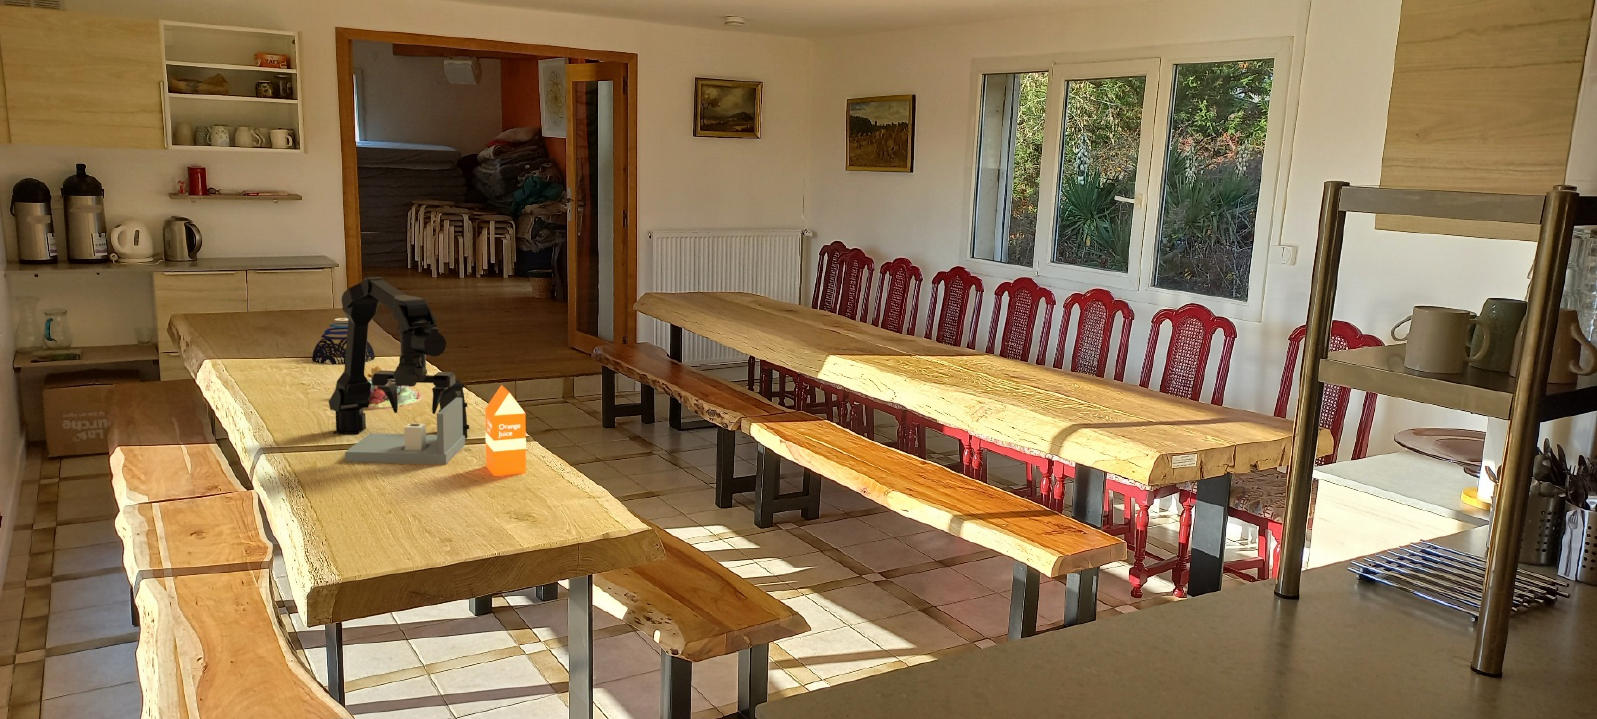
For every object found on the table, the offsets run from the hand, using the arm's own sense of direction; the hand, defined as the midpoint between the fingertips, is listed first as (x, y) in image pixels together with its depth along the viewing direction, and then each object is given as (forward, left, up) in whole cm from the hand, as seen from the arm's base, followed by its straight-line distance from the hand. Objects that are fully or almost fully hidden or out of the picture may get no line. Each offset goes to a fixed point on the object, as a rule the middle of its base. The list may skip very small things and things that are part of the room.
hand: (414, 413), depth 272 cm
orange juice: (+24, -9, -11) cm, 28 cm away
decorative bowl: (-61, +122, -12) cm, 137 cm away
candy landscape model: (-28, +62, -12) cm, 69 cm away
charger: (0, 0, -11) cm, 11 cm away
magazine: (+3, +23, -11) cm, 26 cm away
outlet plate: (-3, +3, -11) cm, 12 cm away
